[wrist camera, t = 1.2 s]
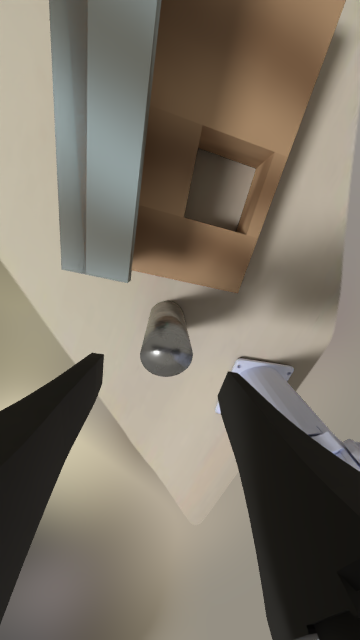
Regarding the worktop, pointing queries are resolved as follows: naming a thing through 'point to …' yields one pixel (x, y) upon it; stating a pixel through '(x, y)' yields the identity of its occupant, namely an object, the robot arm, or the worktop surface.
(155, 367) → the peg
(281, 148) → the socket board
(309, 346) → the worktop surface
